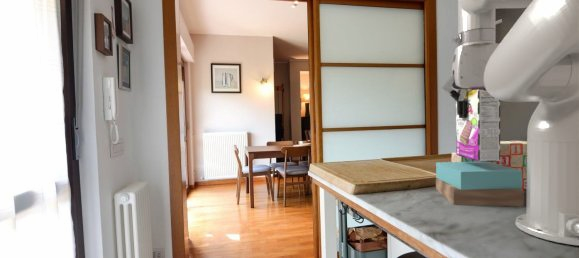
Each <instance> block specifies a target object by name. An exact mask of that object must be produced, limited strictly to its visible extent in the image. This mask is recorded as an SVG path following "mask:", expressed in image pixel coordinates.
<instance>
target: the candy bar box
mask: <svg viewBox="0 0 579 258" xmlns="http://www.w3.org/2000/svg"><path fill="white" fill-rule="evenodd" d="M464 99H465V101H466V102H467V118H459V115H457V101H455V126H456V128H455V132H456V133H455V134H456V136H455V137H456V140H455V141H456V142H455V143H456V145H455V146H456V152H455V153H456V155H458V156H461V157H465V158H468V159H472V160H475V161H479V162H497V161H500V141H501V100H498V99H496V98H494V97H492V96H491V95H490V94H489V93H488V92H487V90H486V89H468V90H467V93H466V96H465V98H464Z"/></svg>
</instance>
